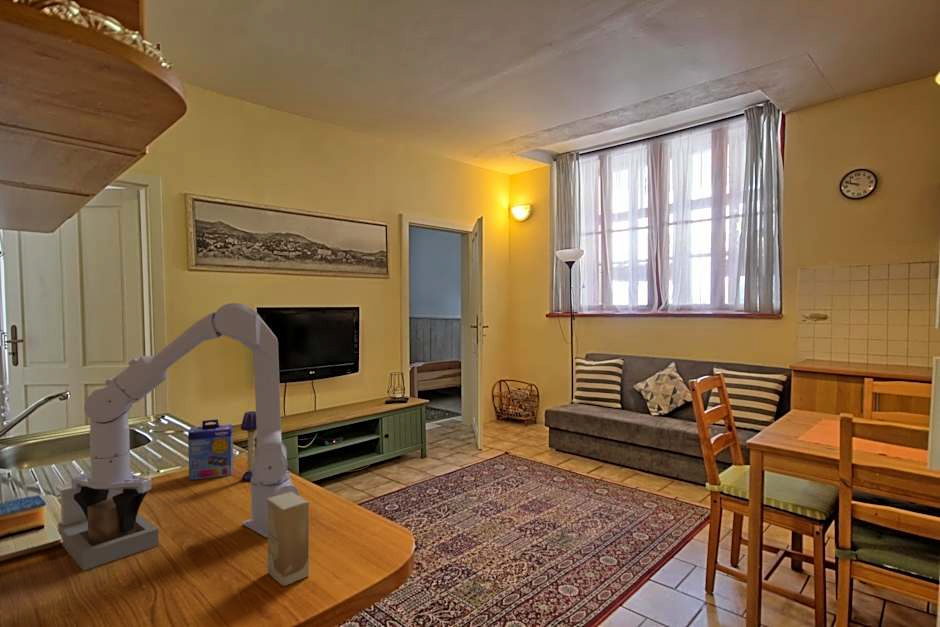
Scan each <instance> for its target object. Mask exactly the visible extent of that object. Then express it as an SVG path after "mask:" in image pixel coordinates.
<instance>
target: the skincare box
mask: <svg viewBox="0 0 940 627" xmlns="http://www.w3.org/2000/svg"><path fill="white" fill-rule="evenodd" d="M267 506H268V537H267V572H268V574H269V575H270V576H271V577H272V578H273V579H274V580H275V581H276V582H278V584H280V585H281V586H282V585H283V586H285V585H287V584H290V583H292V584H294V583H293V582H295V581H297V580H299V581H301V580H300V579H302V578H304V577H306V576H308V575H309V576H310V570H309V568H310V563H309V562H310V558H309V557H310V555H309V554H310V551H309V549H310V545H309V544H310V543H309V541H310V540H309V539H310V536H309V535H310V534H309V530H310V527H309V525H310V522H309V521H310V519H309V517H310V516H309V514H310V513H309V510H310V508H309V507H310V506H309V501H308V500H306V499H304V498H303V497H302V496H298V495H296V494H295V493H293V492H288V493H285V494H281V495H278V496H274V497H271V498H268V499H267ZM304 579H305V578H304ZM302 580H303V579H302ZM297 582H298V581H297ZM295 583H296V582H295ZM290 585H291V584H290ZM283 586H282V587H283ZM287 586H288V585H287ZM285 587H286V586H285Z"/></svg>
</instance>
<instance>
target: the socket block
mask: <svg viewBox="0 0 940 627" xmlns="http://www.w3.org/2000/svg"><path fill="white" fill-rule="evenodd" d="M55 487H56V491H58V493H60V518H61V521H60V522H61V523H58V524H57V533H58V532H59V534H60V535H61V537H62V539H63V545H62V547H63V548H64V547H65V548H64V549H65V550H66V551H67V553H68V554H69V555H70V557H71V558H73V560H74V561H75V562H76V563H77V565H78V566H79V567H80V569H82V571H88V570H91V569H93V568H96V567H99V566H102V565H105V564H107V563H110V562H114V561H117V560H120V559H123V558H126V557H129V556H131V555H134V554H137V553H141V552H144V551H146V550H147V551H148V550H149V549H153V548H155V547H158V546H159V545H160V544H159V528H157V527H156V526H155V525H153V523H152V522H150V521H148V520H147V519H146V518H145V517H143V516H142V515H141V514H139V512H138V513H137V516H136V533H133V534H130V535H127V536H124V537H120V538H117V539H114V540H111V541H108V542H104V543H101V544H98V545H95V546H91V545H90V544H89V543H88V521H87V518H86V516H85V514H84V512H83V510H82V508H81V507H80V505H79V504H78V503H77V502H76V501H75V500H74V495H75V494H77V493H79V492H80V490H81V488H79V489H72V483H71V482H68V483H64V484H60V485H59V484H58V485H56V486H55ZM120 493H123V490H109V492H108V496H107V499H110V498H112V497H113V496H115V495H118V494H120Z"/></svg>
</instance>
